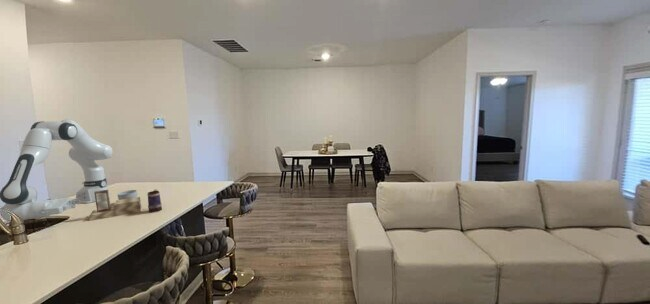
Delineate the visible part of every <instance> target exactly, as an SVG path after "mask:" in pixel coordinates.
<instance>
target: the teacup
mask: <svg viewBox="0 0 650 304" xmlns="http://www.w3.org/2000/svg"><path fill="white" fill-rule="evenodd" d="M116 195H117V199H118V200H122V199H129V198H136V197H138V192H137V190H136V189H129V190H124V191H121V192H119V193H117V194H116Z"/></svg>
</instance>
